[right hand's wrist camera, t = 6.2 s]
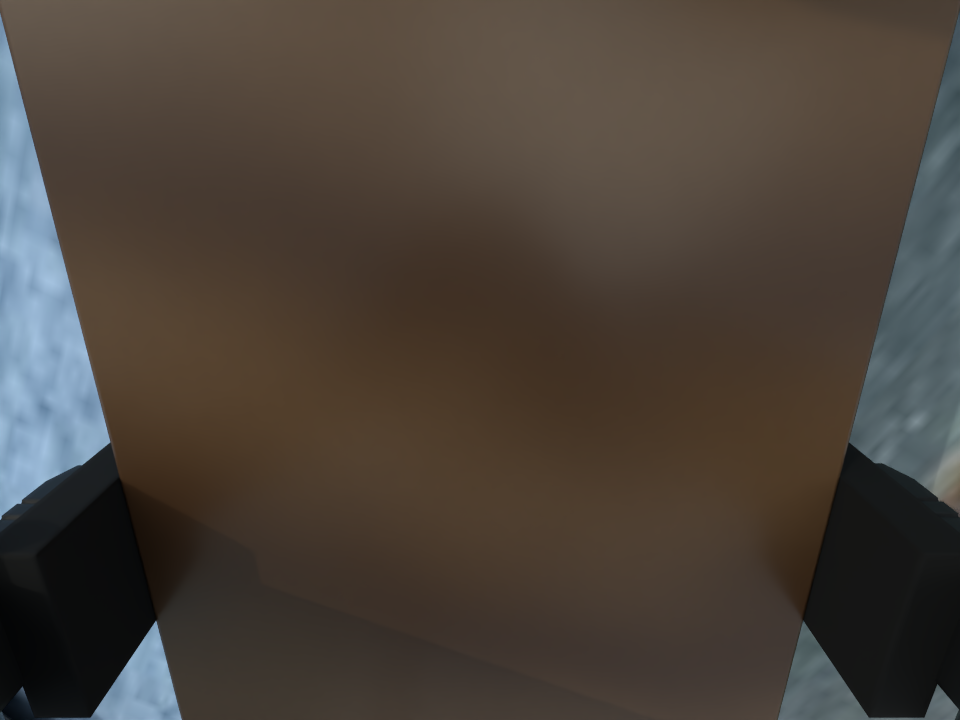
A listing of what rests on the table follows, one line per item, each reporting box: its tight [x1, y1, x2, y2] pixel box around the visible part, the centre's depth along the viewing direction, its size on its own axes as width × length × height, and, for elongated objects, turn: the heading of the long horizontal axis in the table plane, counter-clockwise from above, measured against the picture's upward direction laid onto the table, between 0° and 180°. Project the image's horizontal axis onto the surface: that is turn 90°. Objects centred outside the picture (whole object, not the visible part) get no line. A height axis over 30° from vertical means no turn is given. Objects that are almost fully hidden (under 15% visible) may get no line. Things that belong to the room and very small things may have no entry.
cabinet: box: [0, 0, 960, 720], centre depth 11 cm, size 18×11×8 cm, turn 0°
